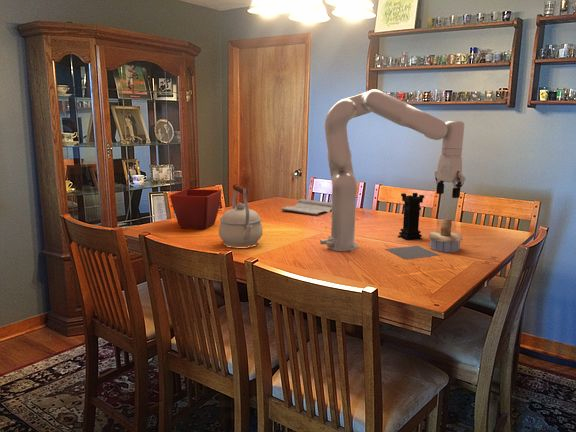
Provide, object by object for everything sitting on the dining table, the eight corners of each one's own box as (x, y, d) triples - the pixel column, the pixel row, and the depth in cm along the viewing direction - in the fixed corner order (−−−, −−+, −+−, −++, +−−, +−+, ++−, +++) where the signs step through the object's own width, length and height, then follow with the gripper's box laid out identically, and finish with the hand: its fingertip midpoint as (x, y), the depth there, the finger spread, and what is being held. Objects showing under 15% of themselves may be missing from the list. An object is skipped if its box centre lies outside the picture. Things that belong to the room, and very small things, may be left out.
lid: (442, 243, 193) (443, 224, 191) (422, 235, 205) (423, 217, 203) (469, 240, 197) (470, 221, 196) (448, 233, 209) (449, 215, 208)
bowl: (442, 254, 195) (443, 242, 194) (424, 247, 205) (425, 235, 204) (465, 252, 199) (466, 240, 198) (447, 245, 209) (447, 233, 208)
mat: (280, 212, 277) (280, 204, 276) (302, 206, 297) (302, 198, 296) (317, 217, 265) (317, 208, 264) (336, 210, 285) (336, 202, 284)
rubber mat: (405, 260, 187) (405, 259, 187) (384, 250, 201) (384, 249, 201) (440, 256, 193) (440, 255, 192) (417, 246, 206) (417, 245, 206)
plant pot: (170, 229, 235) (168, 194, 231) (187, 221, 253) (186, 188, 249) (208, 232, 230) (207, 196, 227) (222, 223, 248) (222, 190, 245)
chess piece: (406, 241, 215) (408, 196, 210) (397, 237, 222) (399, 193, 218) (422, 240, 217) (425, 195, 213) (413, 236, 224) (416, 192, 220)
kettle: (213, 240, 216) (212, 183, 211) (254, 236, 222) (253, 181, 217) (227, 255, 193) (226, 192, 188) (272, 250, 199) (272, 189, 194)
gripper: (430, 150, 201) (426, 192, 204) (458, 154, 185) (454, 199, 188) (445, 150, 203) (441, 192, 207) (474, 154, 187) (470, 199, 191)
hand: (447, 195), depth 198 cm, fingers open, 9 cm apart
